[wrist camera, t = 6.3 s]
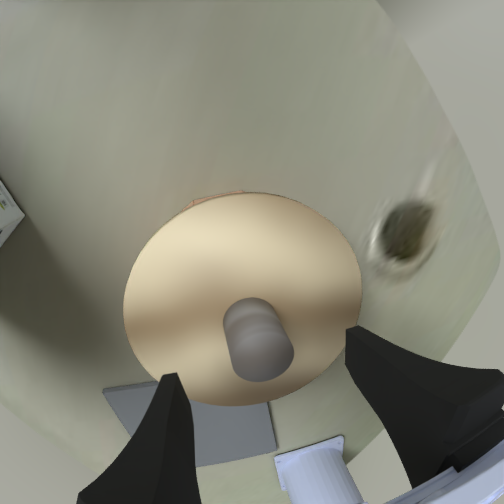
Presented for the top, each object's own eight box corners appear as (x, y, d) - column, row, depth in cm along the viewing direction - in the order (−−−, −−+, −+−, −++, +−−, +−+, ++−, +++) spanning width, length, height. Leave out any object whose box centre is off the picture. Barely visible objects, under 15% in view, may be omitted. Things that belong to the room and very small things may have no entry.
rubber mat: (275, 446, 29) (277, 450, 28) (157, 468, 27) (157, 471, 27) (257, 359, 24) (259, 363, 24) (103, 388, 23) (102, 392, 22)
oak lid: (351, 369, 20) (377, 407, 17) (163, 411, 19) (164, 459, 15) (353, 176, 16) (398, 189, 12) (95, 220, 14) (68, 248, 10)
